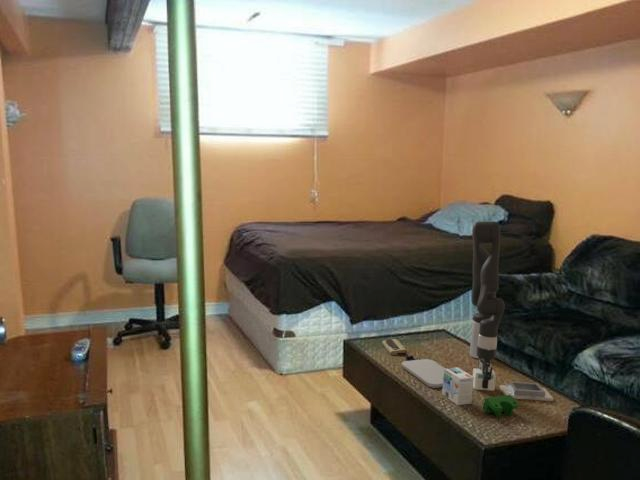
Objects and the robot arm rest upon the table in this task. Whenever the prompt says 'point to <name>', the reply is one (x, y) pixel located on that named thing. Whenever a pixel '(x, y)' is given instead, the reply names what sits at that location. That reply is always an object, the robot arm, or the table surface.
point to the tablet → (426, 371)
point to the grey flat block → (526, 391)
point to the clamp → (500, 405)
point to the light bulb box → (457, 386)
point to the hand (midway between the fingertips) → (483, 385)
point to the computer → (394, 347)
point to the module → (479, 378)
